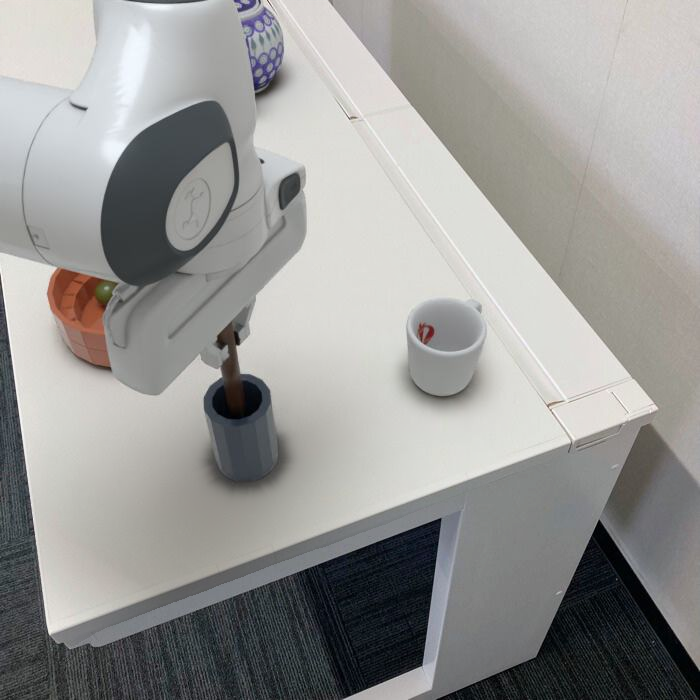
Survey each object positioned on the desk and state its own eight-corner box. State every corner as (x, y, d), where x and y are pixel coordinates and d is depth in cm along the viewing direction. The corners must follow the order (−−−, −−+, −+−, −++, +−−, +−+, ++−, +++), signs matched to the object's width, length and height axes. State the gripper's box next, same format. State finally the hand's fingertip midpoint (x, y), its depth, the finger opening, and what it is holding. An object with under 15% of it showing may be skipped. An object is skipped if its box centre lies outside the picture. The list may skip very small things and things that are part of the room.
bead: (112, 315, 87) (105, 296, 85) (92, 305, 88) (85, 286, 86) (130, 299, 89) (124, 280, 87) (110, 290, 90) (104, 271, 88)
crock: (255, 492, 73) (245, 437, 66) (203, 465, 75) (189, 408, 68) (290, 447, 76) (284, 389, 69) (240, 421, 78) (229, 364, 72)
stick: (244, 445, 72) (216, 288, 57) (230, 438, 72) (198, 281, 58) (254, 433, 73) (229, 276, 58) (240, 426, 73) (212, 268, 58)
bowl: (144, 394, 81) (131, 356, 76) (32, 337, 86) (14, 298, 82) (235, 300, 90) (229, 261, 86) (129, 254, 96) (118, 215, 91)
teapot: (298, 117, 116) (292, 19, 105) (196, 129, 114) (179, 30, 103) (274, 39, 133) (267, -53, 121) (184, 49, 131) (168, -44, 119)
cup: (441, 323, 87) (447, 270, 81) (503, 354, 84) (515, 301, 78) (388, 383, 82) (390, 331, 76) (453, 418, 78) (461, 367, 72)
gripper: (138, 323, 46) (176, 455, 56) (318, 156, 58) (323, 290, 68) (60, 287, 48) (111, 421, 59) (249, 133, 60) (264, 266, 70)
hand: (226, 349), depth 64 cm, fingers closed on stick, 1 cm apart
